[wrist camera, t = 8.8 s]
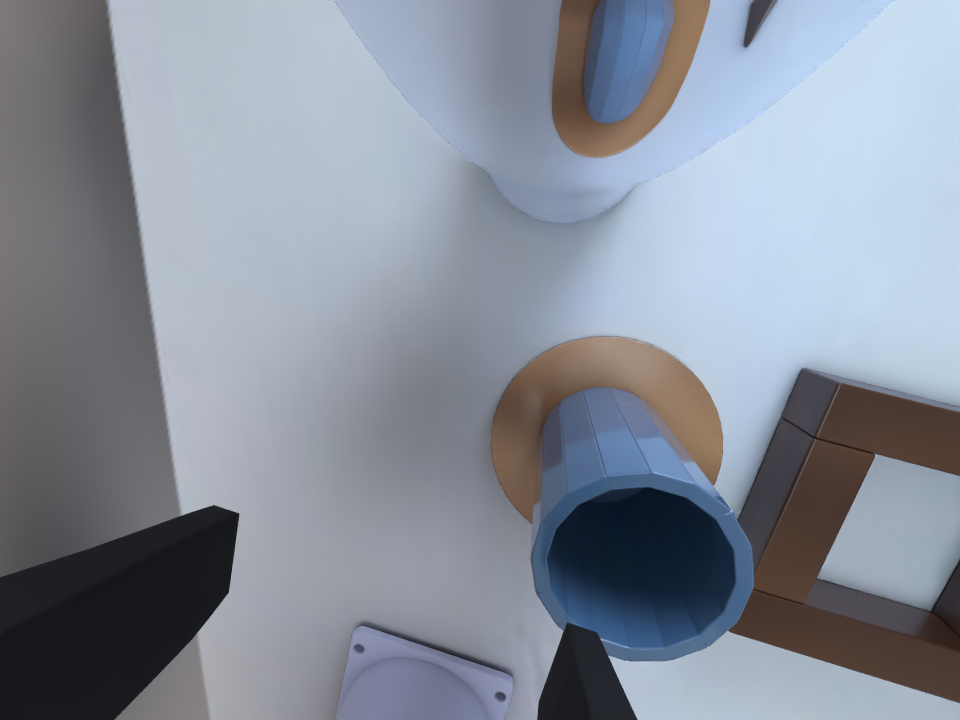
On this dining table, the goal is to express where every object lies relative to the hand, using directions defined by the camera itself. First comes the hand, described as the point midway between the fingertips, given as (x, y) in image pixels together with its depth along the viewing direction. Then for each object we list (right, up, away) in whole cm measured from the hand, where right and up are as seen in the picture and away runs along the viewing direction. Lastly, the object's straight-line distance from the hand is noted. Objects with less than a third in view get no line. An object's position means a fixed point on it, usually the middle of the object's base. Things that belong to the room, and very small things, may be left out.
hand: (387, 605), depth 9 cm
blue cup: (+7, +2, +9) cm, 11 cm away
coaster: (+7, +2, +9) cm, 11 cm away
